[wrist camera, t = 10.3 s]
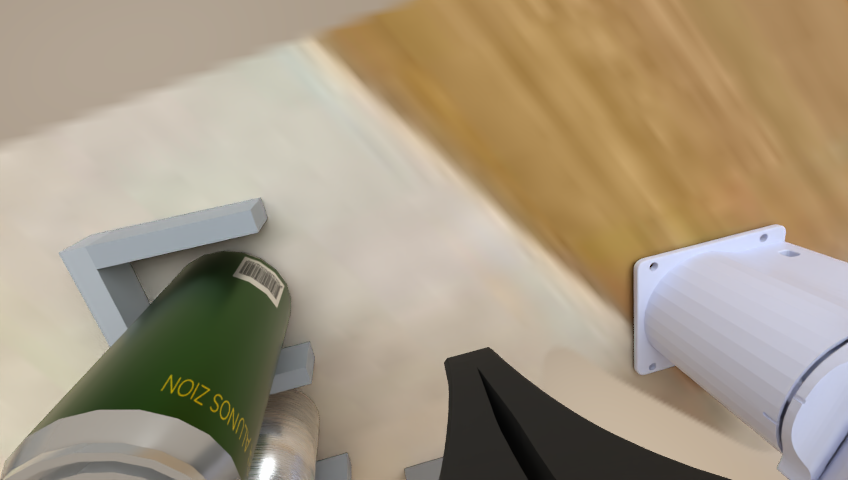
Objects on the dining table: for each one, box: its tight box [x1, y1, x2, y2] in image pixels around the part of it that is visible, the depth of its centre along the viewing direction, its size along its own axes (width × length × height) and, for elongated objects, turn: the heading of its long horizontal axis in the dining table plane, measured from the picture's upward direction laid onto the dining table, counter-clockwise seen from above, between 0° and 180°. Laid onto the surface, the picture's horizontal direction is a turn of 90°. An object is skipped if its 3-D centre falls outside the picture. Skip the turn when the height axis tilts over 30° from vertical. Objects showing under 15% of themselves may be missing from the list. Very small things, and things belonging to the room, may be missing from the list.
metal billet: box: [248, 389, 320, 480], centre depth 21 cm, size 5×5×6 cm
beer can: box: [0, 251, 291, 480], centre depth 15 cm, size 5×5×12 cm
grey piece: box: [59, 198, 352, 480], centre depth 21 cm, size 8×17×2 cm, turn 11°
